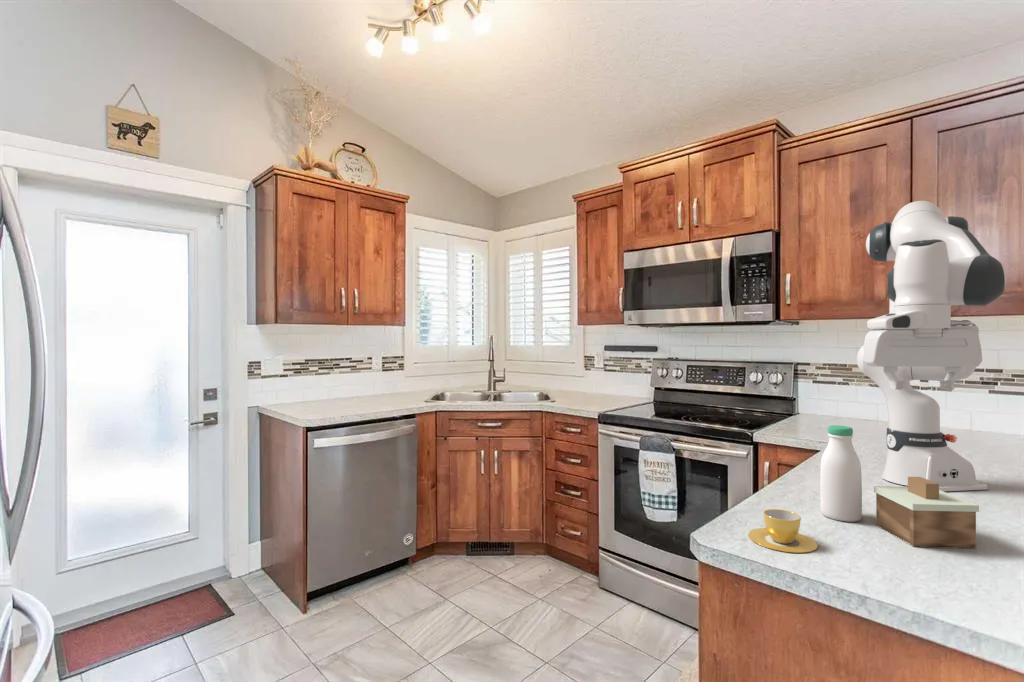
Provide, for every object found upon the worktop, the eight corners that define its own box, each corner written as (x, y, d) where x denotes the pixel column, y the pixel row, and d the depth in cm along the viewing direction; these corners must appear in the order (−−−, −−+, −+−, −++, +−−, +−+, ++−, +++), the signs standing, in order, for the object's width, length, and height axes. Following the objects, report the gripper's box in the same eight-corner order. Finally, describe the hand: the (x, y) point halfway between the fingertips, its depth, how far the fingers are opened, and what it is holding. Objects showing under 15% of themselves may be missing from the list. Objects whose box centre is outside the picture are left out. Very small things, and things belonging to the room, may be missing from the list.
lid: (932, 492, 105) (932, 472, 105) (978, 511, 93) (978, 489, 93) (873, 491, 106) (873, 472, 106) (912, 510, 94) (912, 488, 94)
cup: (809, 560, 90) (809, 530, 90) (739, 542, 98) (739, 515, 98) (824, 540, 98) (823, 513, 98) (758, 525, 107) (758, 500, 107)
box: (932, 526, 105) (931, 493, 105) (976, 548, 94) (975, 511, 94) (876, 525, 106) (876, 492, 106) (913, 546, 95) (913, 509, 95)
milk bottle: (868, 523, 106) (868, 430, 106) (828, 521, 108) (828, 429, 108) (852, 511, 114) (851, 424, 114) (814, 509, 116) (814, 423, 116)
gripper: (964, 320, 102) (964, 388, 102) (858, 321, 104) (858, 387, 104) (991, 319, 96) (991, 391, 96) (878, 320, 97) (878, 390, 97)
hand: (921, 389), depth 100 cm, fingers open, 8 cm apart
